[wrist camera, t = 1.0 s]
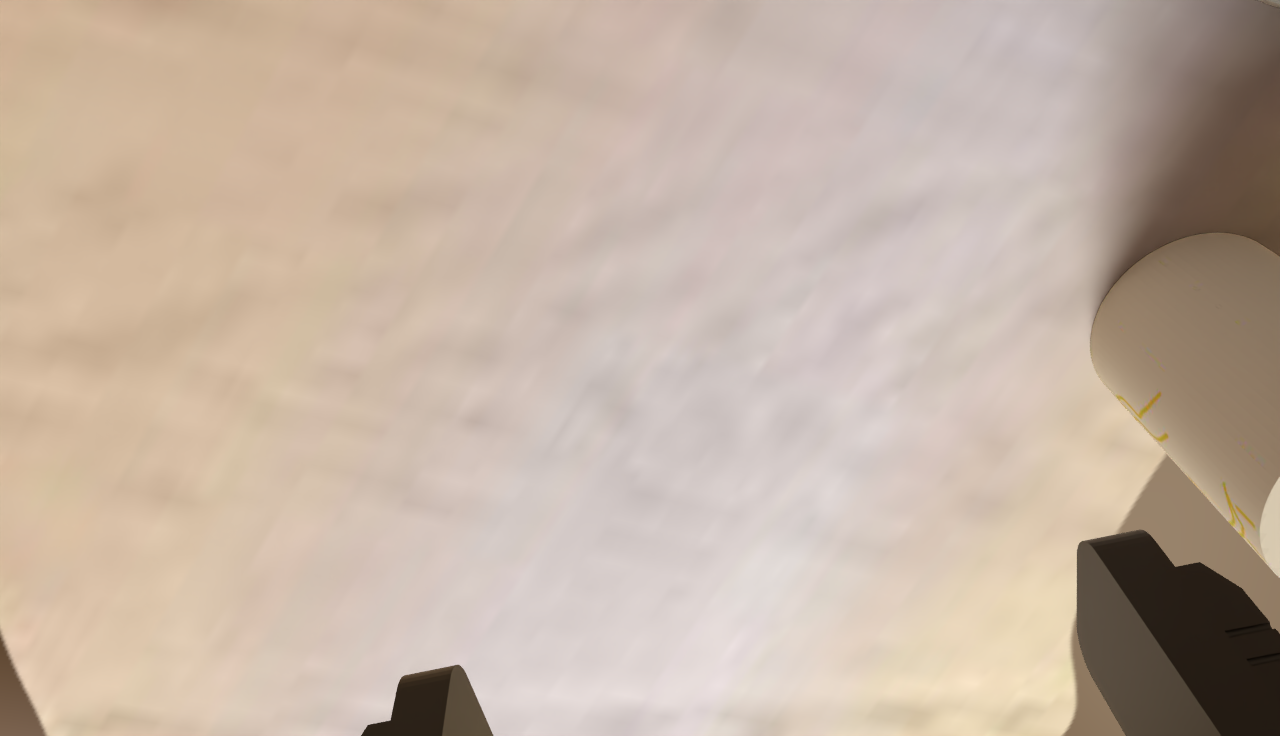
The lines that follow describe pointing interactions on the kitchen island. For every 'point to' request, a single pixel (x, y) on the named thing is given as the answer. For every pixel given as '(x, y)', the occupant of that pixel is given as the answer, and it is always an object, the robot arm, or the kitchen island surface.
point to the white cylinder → (1204, 370)
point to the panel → (1271, 2)
